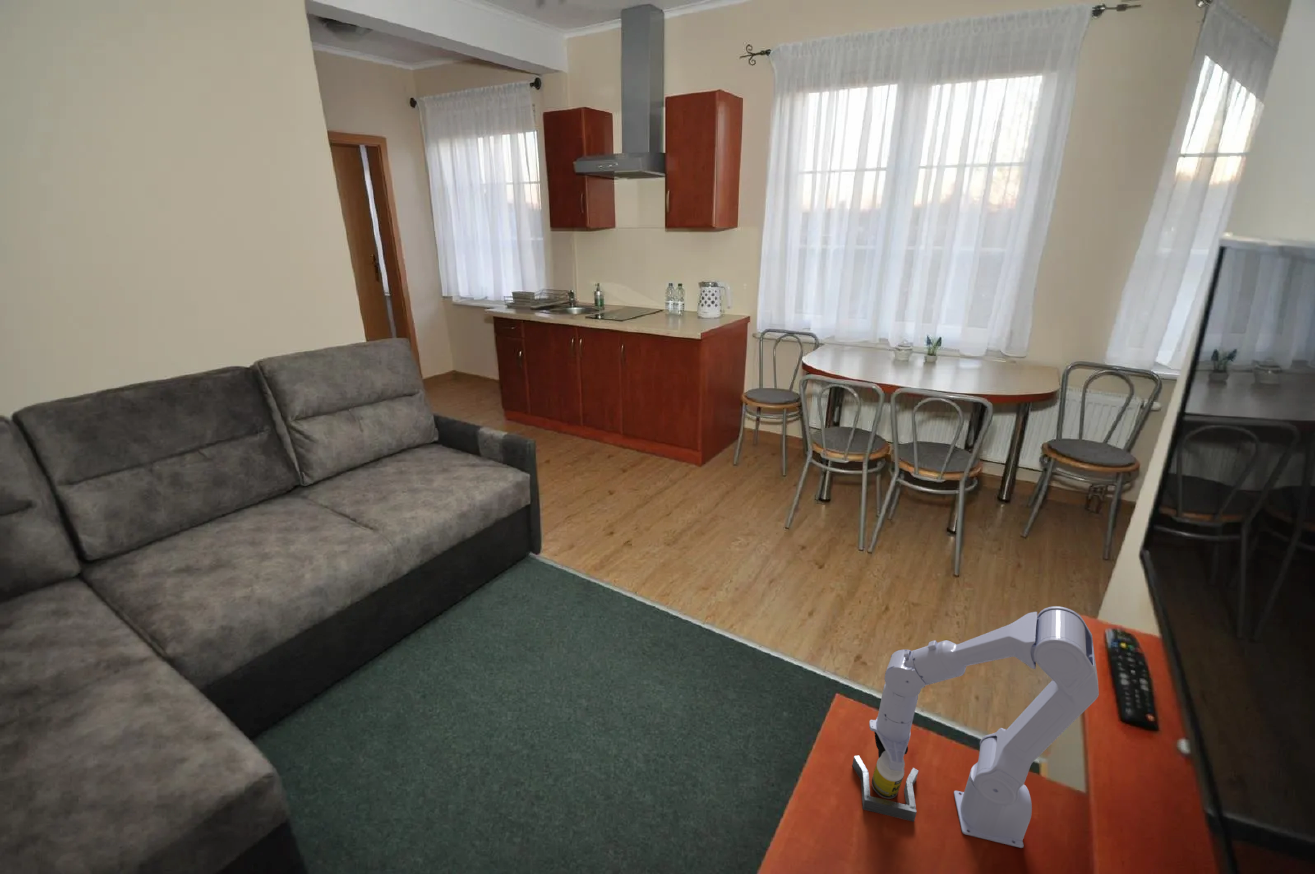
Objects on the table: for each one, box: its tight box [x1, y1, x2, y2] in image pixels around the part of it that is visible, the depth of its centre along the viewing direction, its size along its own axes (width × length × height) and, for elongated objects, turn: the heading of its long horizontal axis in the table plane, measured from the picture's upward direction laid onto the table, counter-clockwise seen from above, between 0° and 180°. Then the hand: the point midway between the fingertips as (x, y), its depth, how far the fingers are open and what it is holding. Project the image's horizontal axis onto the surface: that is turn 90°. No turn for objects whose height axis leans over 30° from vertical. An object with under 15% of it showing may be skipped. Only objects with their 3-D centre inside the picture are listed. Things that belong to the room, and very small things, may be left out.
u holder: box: [851, 755, 919, 823], centre depth 107 cm, size 12×9×2 cm
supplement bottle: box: [871, 751, 906, 800], centre depth 106 cm, size 5×5×8 cm
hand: (884, 763), depth 111 cm, fingers closed
